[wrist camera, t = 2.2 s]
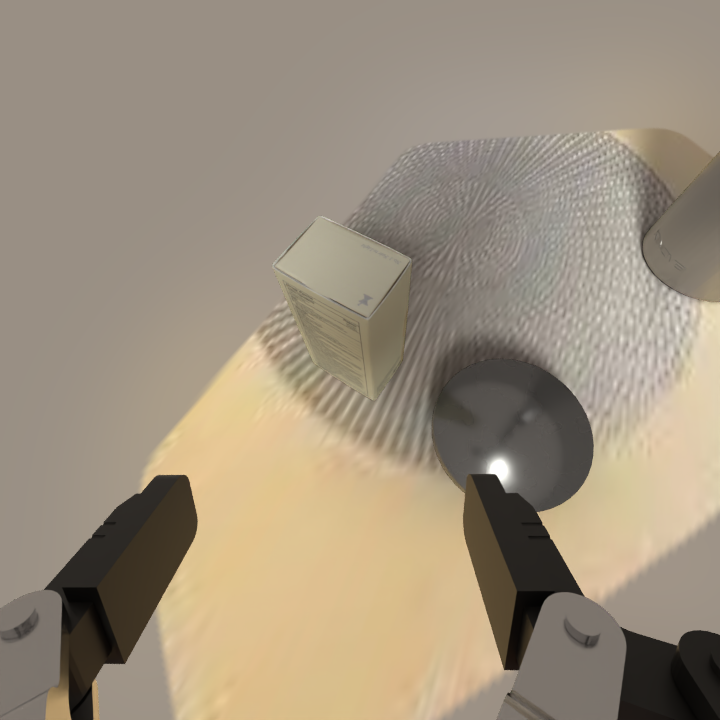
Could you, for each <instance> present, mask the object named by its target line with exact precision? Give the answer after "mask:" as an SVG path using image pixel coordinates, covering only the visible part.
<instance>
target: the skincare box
mask: <svg viewBox="0 0 720 720" xmlns="http://www.w3.org/2000/svg"><path fill="white" fill-rule="evenodd" d="M272 267H273V270H274V273H275V275H276V277H277V279H278V282H279V284H280V286H281V288H282V291H283V293H284V296H285V298H286V300H287V303H288V305H289V307H290V310H291V312H292V314H293V316H294V319H295V321H296V323H297V326H298V328H299V330H300V333H301V335H302V337H303V340H304V342H305V344H306V347H307V349H308V351H309V354H310V356H311V358H312V361H313V363H314V364H316V365H317V366H319V367H320V368H322V369H323V370H325V371H326V372H328V373H329V374H331V375H332V376H334V377H335V378H337V379H338V380H340V381H342V382H343V383H345V384H346V385H348V386H349V387H351V388H353V389H354V390H356V391H357V392H359V393H361V394H362V395H364V396H366V397H368V398H369V399H371V400H373V401H375V400H376V399H377V397H378V396H379V395H380V393H381V392H382V390H383V389H384V388H385V386H386V385H387V383H388V382H389V380H390V379H391V378H392V376H393V375H394V373H395V372H396V370H397V369H398V367H399V365H400V364H401V362H402V361H403V353H404V343H405V333H406V323H407V313H408V302H409V291H410V280H411V268H412V259H411V258H409V257H407V256H405V255H403V254H402V253H399V252H398V251H396V250H394V249H392V248H390V247H388V246H386V245H384V244H381V243H379V242H377V241H375V240H373V239H371V238H369V237H367V236H364V235H362V234H360V233H359V232H356V231H354V230H352V229H350V228H348V227H346V226H343V225H341V224H339V223H337V222H334V221H332V220H330V219H328V218H326V217H323V216H318V217H317V218H316V219H315V220H314V221H313V222H312V223H311V224H310V225H309V226H308V227H307V228H306V229H305V230H304V231H303V232H302V233H301V234H300V235H299V236H298V237H297V238H296V240H295V241H294V242H293V243H292V244H291V245H290V246H289V247H288V248H287V249H286V250H285V251H284V252H283V253H282V255H280V256H279V257H278V259H277V260H276V261H275V262H274V263H273V265H272Z"/></svg>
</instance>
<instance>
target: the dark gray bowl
mask: <svg viewBox="0 0 720 720" xmlns="http://www.w3.org/2000/svg"><path fill="white" fill-rule="evenodd" d="M432 439H433V444H434V448H435V451H436V454H437V457H438V459H439V461H440V463H441V466H442V467H443V469H444V470H445V472H446V474H447V475H448V476H449V478H450V479H451V480H452V481H453V482H454V484H455V485H456V486H457V487H458V488H460V489H461V490H462V491H463V492H464V493H465V491H466V480H467V476H468V474H496V475H497V476H498V478H499V480H500V482H501V484H502V486H503V488H504V490H505V492H506V493H518V494H519V495H521V496H522V497H523V498H524V499H525V500H526V501H527V502H529V503H530V504H531V505H532V506H533V507H534V509H535V511H536V512H540V511H544V510H548V509H551V508H554V507H556V506H558V505H560V504H562V503H564V502H565V501H567V500H568V499H570V498H571V497H572V496H573V495H574V494H575V493H576V492H577V491H578V490H579V488H580V487H581V486H582V485H583V483H584V481H585V480H586V478H587V476H588V474H589V471H590V468H591V465H592V459H593V447H594V445H593V435H592V431H591V427H590V423H589V421H588V418H587V415H586V413H585V412H584V410H583V408H582V406H581V404H580V403H579V401H578V400H577V398H576V397H575V396H574V395H573V393H572V392H571V391H570V390H569V389H568V388H567V387H566V386H565V385H564V384H563V383H562V382H561V381H560V380H558V379H557V378H556V377H554V376H553V375H551V374H550V373H548V372H546V371H545V370H543V369H541V368H539V367H537V366H534V365H532V364H529V363H526V362H522V361H518V360H511V359H491V360H485V361H481V362H478V363H475V364H472V365H470V366H468V367H466V368H464V369H463V370H461V371H460V372H458V373H457V374H456V375H455V376H454V377H453V378H452V379H451V380H450V381H449V382H448V383H447V384H446V386H445V387H444V389H443V390H442V392H441V394H440V396H439V398H438V400H437V403H436V405H435V408H434V412H433V417H432Z"/></svg>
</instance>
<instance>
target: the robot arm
mask: <svg viewBox="0 0 720 720" xmlns="http://www.w3.org/2000/svg"><path fill="white" fill-rule="evenodd" d="M643 253H644V258H645V260H646V262H647V264H648V266H649V267H650V269H651V270H652V271H653V272H654V274H655V275H656V276H657V277H658V278H659V279H660V280H662V281H663V282H664V283H665V284H666V285H668V286H669V287H671V288H672V289H674V290H676V291H678V292H680V293H682V294H684V295H686V296H689V297H692V298H695V299H698V300H703V301H709V302H720V152H719V153H718V154H717V155H716V156H715V157H714V158H713V159H712V161H711V162H710V163H709V164H708V165H707V166H706V167H705V168H704V169H703V171H702V172H701V173H700V174H699V175H698V176H697V177H696V178H695V179H694V181H693V182H692V183H691V184H690V185H689V186H688V187H687V188H686V189H685V191H684V192H683V193H682V194H681V195H680V196H679V197H678V198H677V199H676V200H675V201H674V203H673V204H672V205H671V206H670V207H669V208H668V209H667V210H666V212H665V213H664V214H663V215H662V216H661V217H660V218H659V219H658V221H657V222H656V223H655V224H654V225H653V226H652V227H651V228H650V230H649V231H648V232H647V233H646V235H645V237H644V240H643ZM197 522H198V520H197V514H196V509H195V505H194V500H193V496H192V491H191V487H190V482H189V479H188V477H187V476H186V475H158V476H156V477H155V478H154V479H153V480H152V481H151V482H150V483H149V484H148V486H147V487H146V488H145V489H144V490H143V492H142V493H141V494H135V495H134V496H132V497H131V498H129V499H128V500H127V501H125V502H124V503H122V504H121V505H119V506H118V507H117V508H116V509H115V510H114V511H113V512H112V513H111V515H110V516H109V517H108V518H107V519H106V520H105V521H104V524H103V525H101V526H100V527H99V528H98V529H97V530H96V532H95V533H94V534H93V535H92V538H91V539H89V540H88V541H87V542H86V543H85V544H84V545H83V546H82V547H81V548H80V550H79V551H78V552H77V553H76V554H75V555H74V556H73V557H72V559H71V560H70V561H69V562H68V563H67V564H66V566H65V567H64V568H63V569H62V570H61V571H60V572H59V573H58V574H57V576H56V577H55V578H54V579H53V580H52V581H51V582H50V583H49V585H48V586H47V587H46V588H45V589H44V590H41V591H36V592H32V593H29V594H26V595H24V596H21V597H19V598H17V599H15V600H13V601H11V602H10V603H8V604H7V605H5V606H3V607H2V608H0V720H99V704H98V703H99V701H98V687H97V682H96V679H95V678H96V676H97V674H98V673H99V671H100V669H101V668H102V666H103V664H125V663H126V661H127V659H128V657H129V655H130V654H131V652H132V650H133V648H134V646H135V645H136V643H137V641H138V639H139V637H140V636H141V634H142V632H143V630H144V628H145V627H146V625H147V623H148V621H149V619H150V618H151V616H152V614H153V612H154V610H155V609H156V607H157V605H158V603H159V601H160V600H161V598H162V596H163V594H164V592H165V591H166V589H167V587H168V585H169V583H170V582H171V580H172V578H173V576H174V574H175V573H176V571H177V569H178V567H179V565H180V564H181V562H182V560H183V558H184V556H185V555H186V553H187V551H188V549H189V547H190V546H191V544H192V542H193V540H194V538H195V535H196V531H197ZM463 527H464V535H465V540H466V544H467V547H468V550H469V554H470V557H471V560H472V564H473V567H474V570H475V574H476V577H477V580H478V584H479V587H480V591H481V594H482V597H483V601H484V604H485V607H486V611H487V614H488V617H489V621H490V624H491V627H492V631H493V634H494V638H495V641H496V644H497V648H498V651H499V654H500V658H501V661H502V664H503V668H504V670H519V672H518V674H517V678H516V680H515V683H514V686H513V688H512V690H511V693H508V694H507V695H506V697H505V699H504V702H503V704H502V706H501V709H500V712H499V714H498V717H497V720H720V635H718V634H715V633H711V632H708V631H701V630H699V631H690V632H687V633H685V634H684V635H683V636H682V637H681V639H680V641H679V643H678V646H676V645H673V644H669V643H666V642H663V641H660V640H656V639H653V638H650V637H646V636H643V635H640V634H637V633H634V632H631V631H628V630H626V629H624V628H622V627H620V626H619V625H618V623H617V622H616V621H615V619H614V618H613V617H612V616H611V615H610V614H609V613H608V612H607V611H606V610H605V609H604V608H602V607H601V606H600V605H598V604H597V603H595V602H594V601H592V600H590V599H588V598H586V597H585V596H584V595H583V593H582V591H581V590H580V588H579V586H578V584H577V583H576V581H575V579H574V577H573V576H572V574H571V572H570V570H569V569H568V567H567V565H566V563H565V562H564V560H563V558H562V556H561V555H560V553H559V551H558V549H557V548H556V546H555V544H554V542H553V541H552V540H551V539H550V535H549V534H548V532H547V530H546V528H545V527H544V526H543V525H542V521H541V520H540V518H539V516H538V514H537V513H536V511H535V509H534V507H533V506H532V505H531V504H530V503H529V502H527V501H526V500H525V499H524V498H523V497H522V496H521V495H519V494H518V493H506V492H505V490H504V488H503V486H502V484H501V482H500V480H499V478H498V476H497V475H496V474H468V476H467V480H466V491H465V502H464V514H463Z"/></svg>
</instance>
